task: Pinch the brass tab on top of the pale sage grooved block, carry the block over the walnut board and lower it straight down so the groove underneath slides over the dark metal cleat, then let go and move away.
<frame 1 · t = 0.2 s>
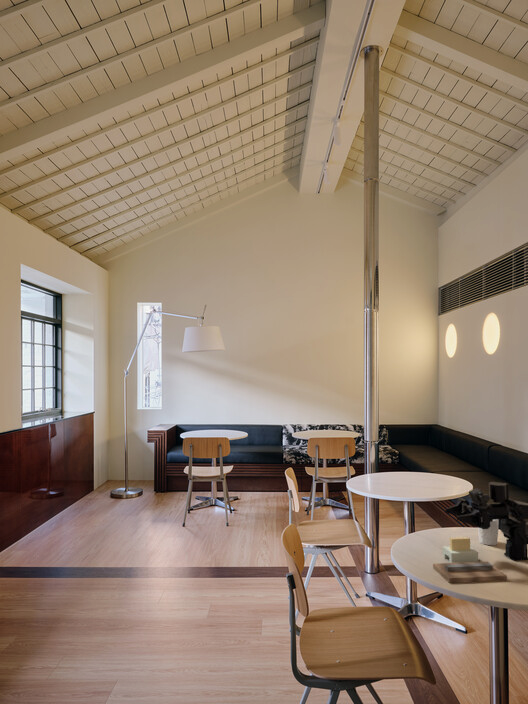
hand: (450, 514, 181), 17 cm above the table, tool horizontal, fingers open, 9 cm apart
white cup: (488, 543, 199), on the table
sage block: (460, 560, 181), on the table
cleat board: (469, 573, 169), on the table
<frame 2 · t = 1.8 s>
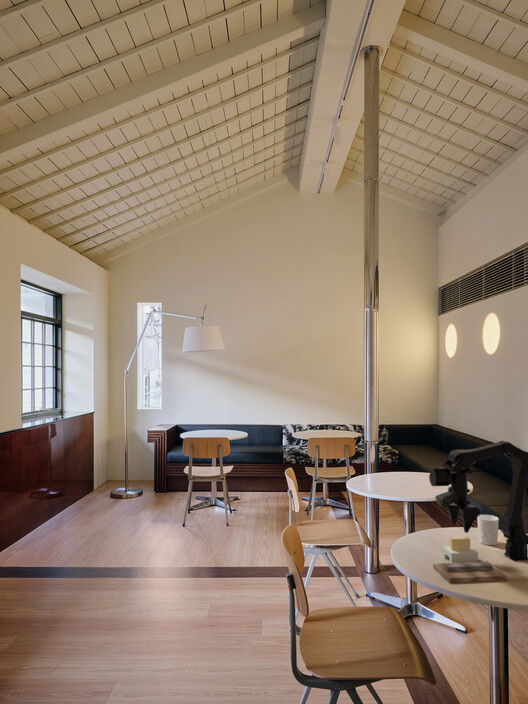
hand: (459, 528, 181), 11 cm above the table, tool pointing down, fingers open, 9 cm apart
nothing on the table moved.
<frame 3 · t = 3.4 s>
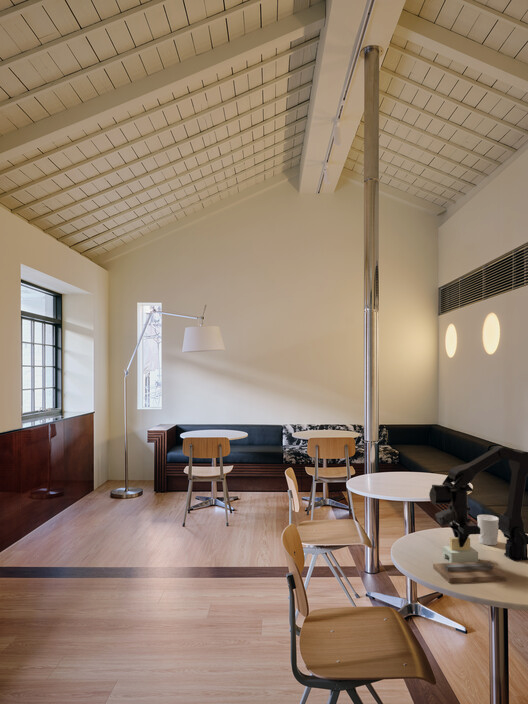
hand: (459, 546, 181), 5 cm above the table, tool pointing down, fingers closed on sage block
sage block: (460, 560, 181), on the table, touching gripper
everything else where it was.
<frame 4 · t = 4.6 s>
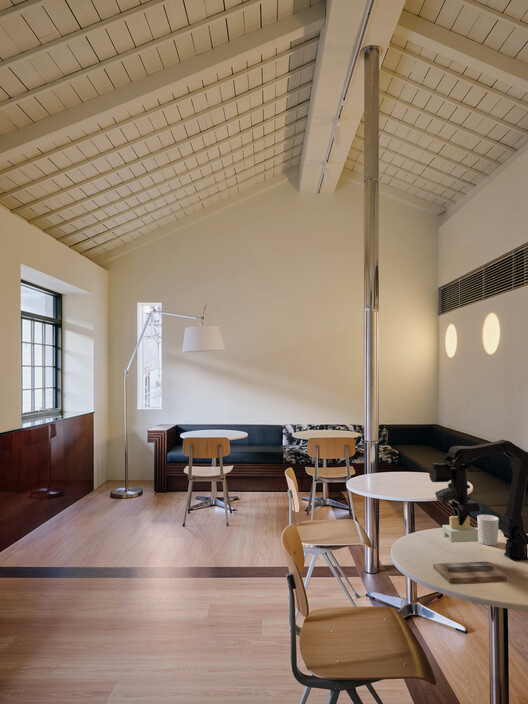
hand: (459, 524, 181), 13 cm above the table, tool pointing down, fingers closed on sage block
sage block: (459, 538, 181), point 8 cm above the table, touching gripper
everything else where it was.
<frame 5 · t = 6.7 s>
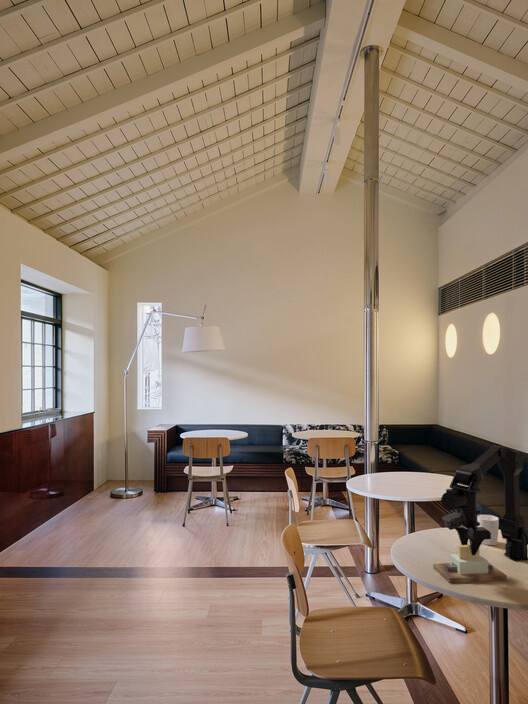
hand: (468, 551, 169), 7 cm above the table, tool pointing down, fingers open, 6 cm apart
sage block: (468, 569, 169), point 1 cm above the table, touching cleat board
everything else where it was.
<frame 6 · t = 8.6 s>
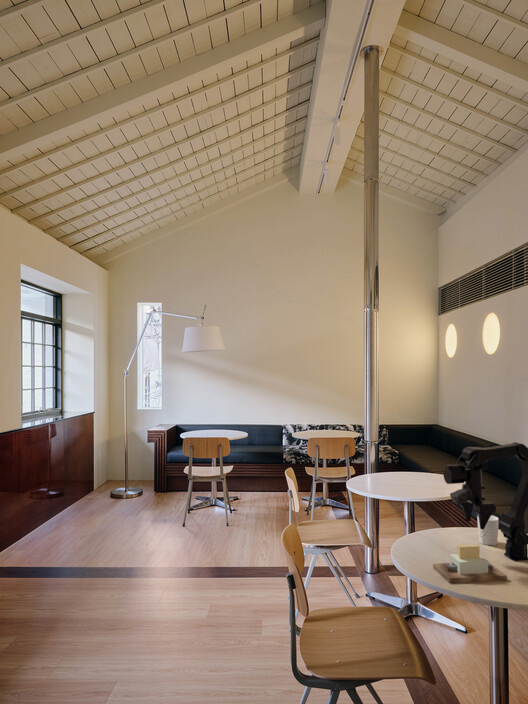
hand: (475, 525, 181), 13 cm above the table, tool pointing down, fingers open, 9 cm apart
nothing on the table moved.
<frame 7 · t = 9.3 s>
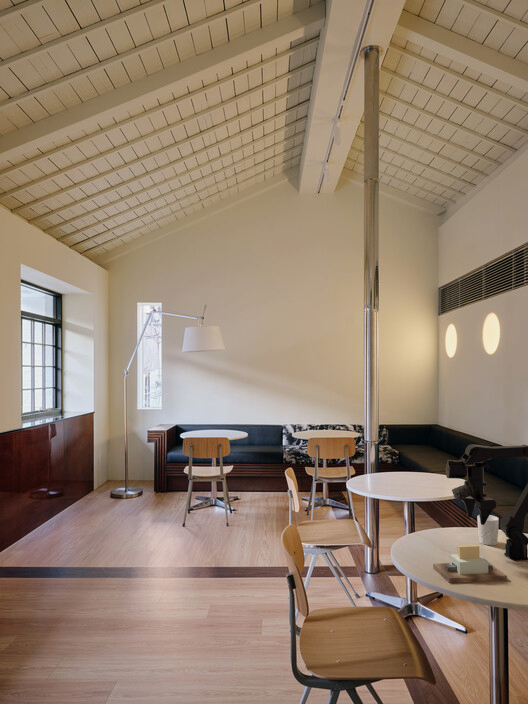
hand: (476, 520, 185), 13 cm above the table, tool pointing down, fingers open, 9 cm apart
nothing on the table moved.
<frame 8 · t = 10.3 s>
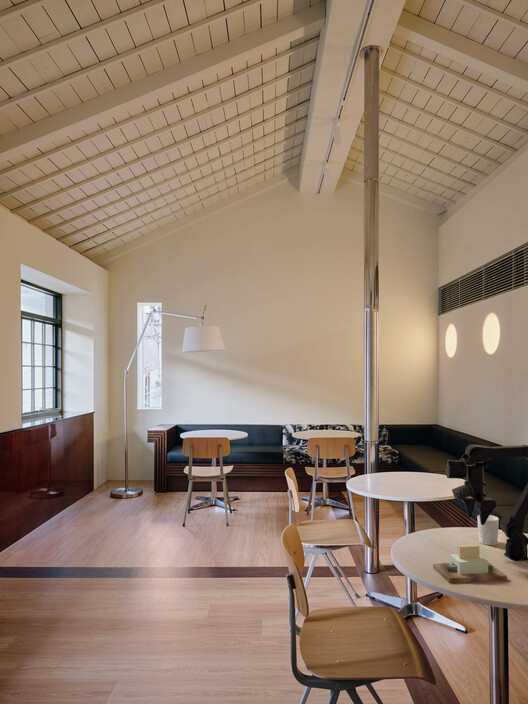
hand: (476, 520, 185), 13 cm above the table, tool pointing down, fingers open, 9 cm apart
nothing on the table moved.
at the end: sage block inside the target area on the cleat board (0.1 cm from its centre), point 1.5 cm above the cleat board's base; sage block tilted 0°; the gripper is holding nothing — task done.
